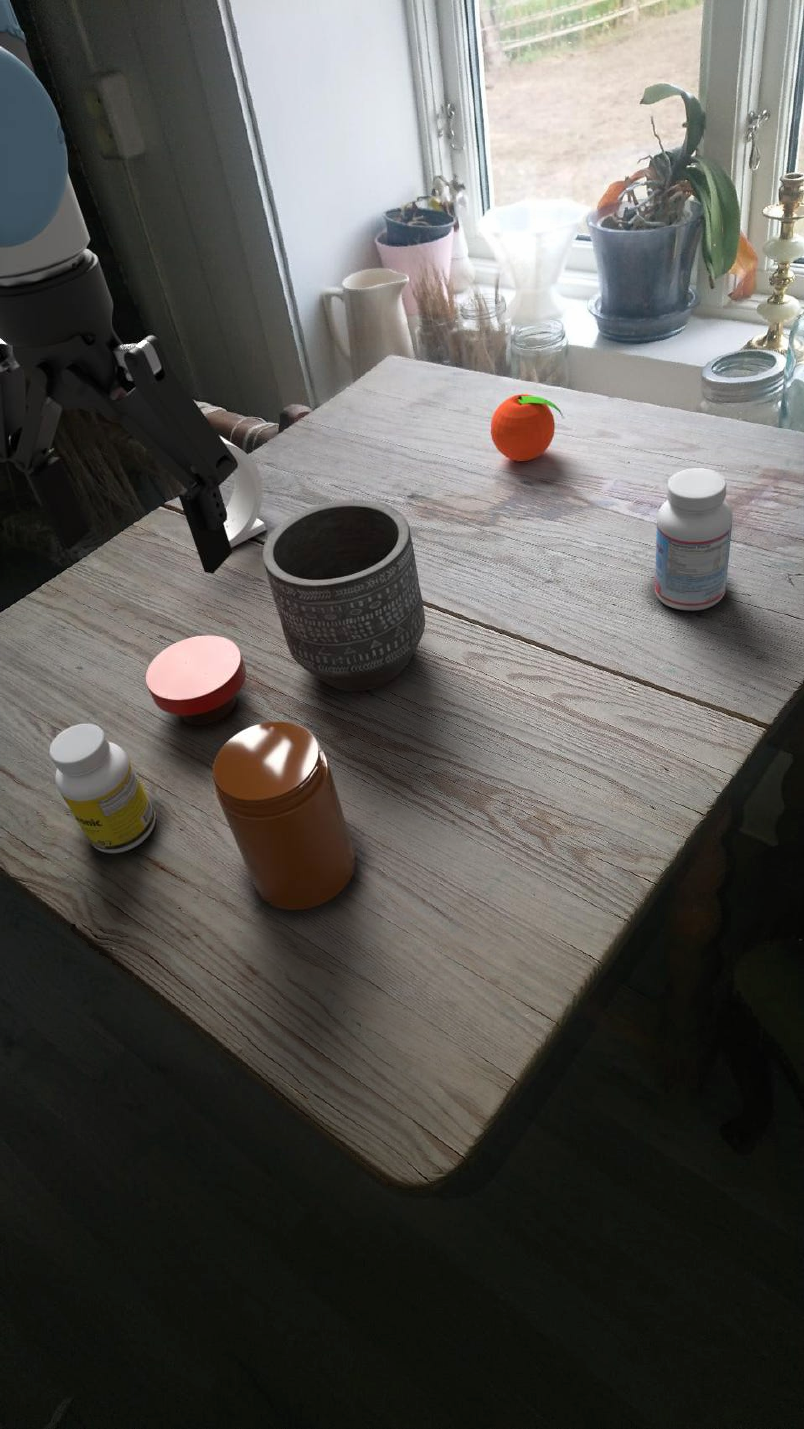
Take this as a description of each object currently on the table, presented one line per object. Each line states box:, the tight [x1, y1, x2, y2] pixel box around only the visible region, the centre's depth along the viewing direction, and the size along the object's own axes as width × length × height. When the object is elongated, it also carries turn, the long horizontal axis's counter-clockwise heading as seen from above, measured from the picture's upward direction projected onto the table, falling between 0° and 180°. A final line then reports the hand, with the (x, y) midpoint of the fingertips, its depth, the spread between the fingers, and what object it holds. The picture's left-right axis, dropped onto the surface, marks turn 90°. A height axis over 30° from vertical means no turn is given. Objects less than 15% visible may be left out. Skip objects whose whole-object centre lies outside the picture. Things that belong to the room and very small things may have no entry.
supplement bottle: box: [49, 723, 157, 854], centre depth 73 cm, size 5×5×10 cm
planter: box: [261, 499, 426, 692], centre depth 83 cm, size 12×12×13 cm
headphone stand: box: [219, 435, 267, 549], centre depth 102 cm, size 5×6×12 cm
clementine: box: [490, 393, 565, 462], centre depth 105 cm, size 8×7×7 cm
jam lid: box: [145, 634, 247, 716], centre depth 83 cm, size 8×8×2 cm
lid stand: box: [179, 694, 238, 726], centre depth 84 cm, size 5×5×4 cm
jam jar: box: [212, 720, 356, 911], centre depth 67 cm, size 8×8×12 cm
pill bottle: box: [654, 467, 733, 611], centre depth 83 cm, size 6×6×11 cm
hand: (145, 551), depth 74 cm, fingers open, 13 cm apart
